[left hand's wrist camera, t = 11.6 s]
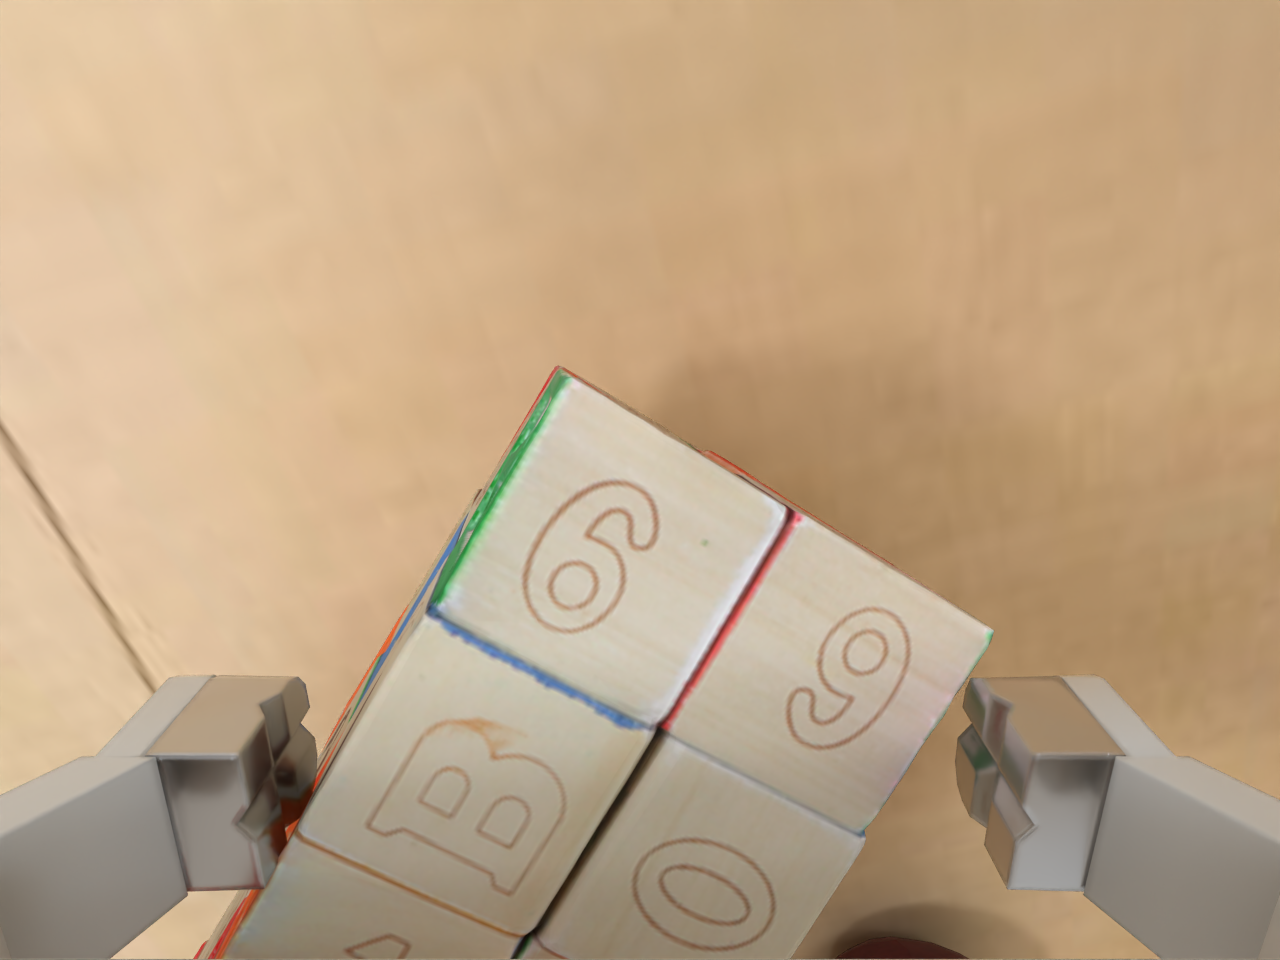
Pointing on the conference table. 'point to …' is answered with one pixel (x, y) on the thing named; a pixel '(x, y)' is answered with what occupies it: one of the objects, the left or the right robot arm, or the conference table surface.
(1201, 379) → the conference table surface
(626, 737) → the stack of blocks
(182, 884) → the left robot arm
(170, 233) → the conference table surface
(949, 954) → the plum
